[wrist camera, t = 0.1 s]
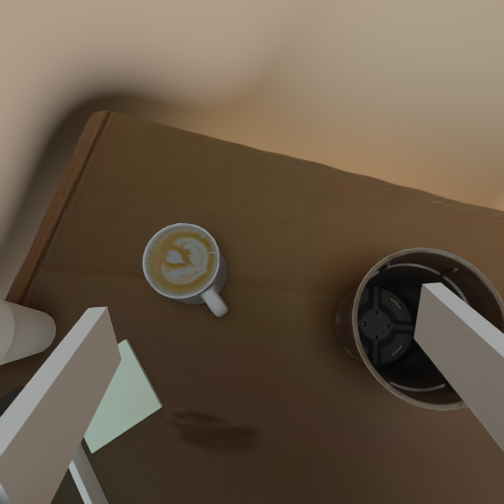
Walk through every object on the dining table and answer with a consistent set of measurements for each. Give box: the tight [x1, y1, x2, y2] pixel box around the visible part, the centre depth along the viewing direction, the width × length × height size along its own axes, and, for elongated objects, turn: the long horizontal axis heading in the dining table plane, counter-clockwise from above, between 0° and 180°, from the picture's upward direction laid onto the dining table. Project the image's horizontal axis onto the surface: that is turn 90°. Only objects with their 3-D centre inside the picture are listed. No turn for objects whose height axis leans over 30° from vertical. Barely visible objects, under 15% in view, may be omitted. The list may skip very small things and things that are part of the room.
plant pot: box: [335, 248, 504, 410], centre depth 41 cm, size 16×16×16 cm
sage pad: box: [84, 339, 163, 453], centre depth 46 cm, size 11×11×1 cm
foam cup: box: [0, 299, 56, 365], centre depth 42 cm, size 10×9×13 cm
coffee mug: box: [143, 223, 228, 317], centre depth 45 cm, size 13×10×10 cm
